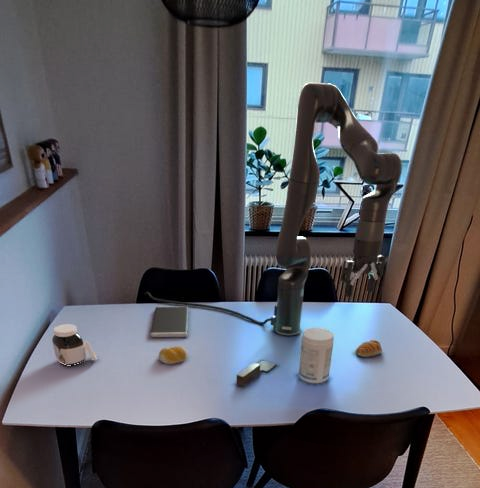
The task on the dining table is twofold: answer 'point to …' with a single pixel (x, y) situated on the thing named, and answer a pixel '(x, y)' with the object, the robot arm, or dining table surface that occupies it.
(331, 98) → the robot arm
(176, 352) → the bread roll
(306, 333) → the supplement tub
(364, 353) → the pastry
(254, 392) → the dining table surface
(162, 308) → the grey tablet slab
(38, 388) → the dining table surface
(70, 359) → the spread jar
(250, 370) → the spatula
